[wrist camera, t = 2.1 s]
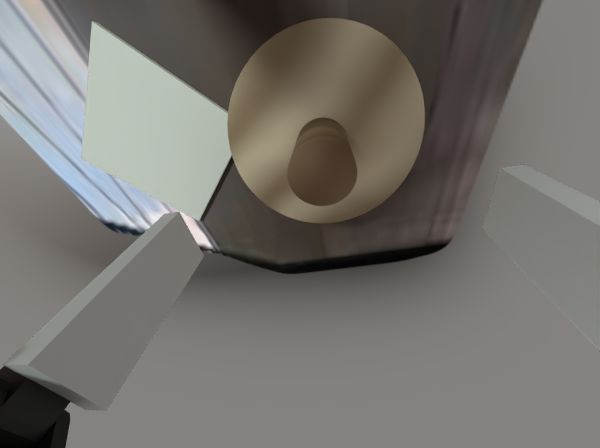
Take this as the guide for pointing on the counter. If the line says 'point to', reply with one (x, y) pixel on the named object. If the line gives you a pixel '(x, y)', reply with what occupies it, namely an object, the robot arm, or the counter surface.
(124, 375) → the robot arm
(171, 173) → the mat
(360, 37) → the lid
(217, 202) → the counter surface
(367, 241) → the counter surface
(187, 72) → the counter surface
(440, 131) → the counter surface
